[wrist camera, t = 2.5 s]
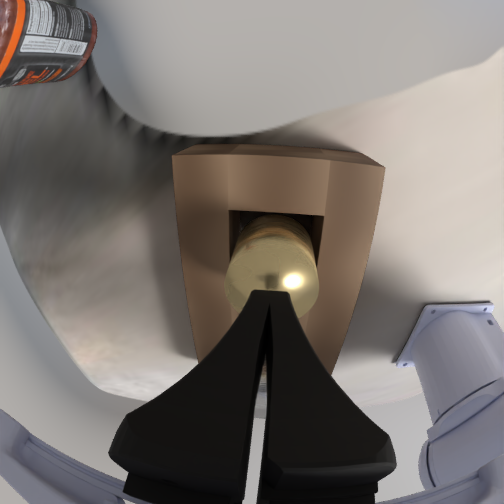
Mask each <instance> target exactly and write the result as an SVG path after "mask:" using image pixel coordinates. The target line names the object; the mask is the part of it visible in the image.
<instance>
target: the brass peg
mask: <svg viewBox="0 0 504 504" xmlns="http://www.w3.org/2000/svg"><path fill="white" fill-rule="evenodd" d="M224 288H225V293H226V296H227V299H228V301H229V302H230V304H231V305H232V307H233V308H234V309H235V310H236V311H237V312H238V313H240V312H241V311H242V309H243V307H244V306H245V304H246V302H247V300H248V298H249V296H250V293H251V291H253V290H254V289H257V290H272V291H287V292H288V293H289V294H290V297H291V301H292V304H293V307H294V310H295V312H296V315H297V317H298V318H300V317H302V316H303V315H304V314H306V313H307V312H308V311H309V310H310V309H311V308H312V307H313V305H314V303H315V302H316V300H317V297H318V293H319V280H318V274H317V268H316V263H315V257H314V252H313V247H312V242H311V238H310V236H309V234H308V232H307V231H306V229H305V228H304V227H303V226H302V225H301V224H300V223H299V222H297V221H296V220H294V219H292V218H290V217H287V216H283V215H277V214H271V215H264V216H261V217H258V218H256V219H254V220H252V221H251V222H249V223H248V224H247V225H246V226H245V227H244V228H243V229H242V231H241V233H240V234H239V237H238V240H237V243H236V246H235V249H234V252H233V255H232V258H231V261H230V264H229V267H228V270H227V273H226V277H225V282H224Z"/></svg>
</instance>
